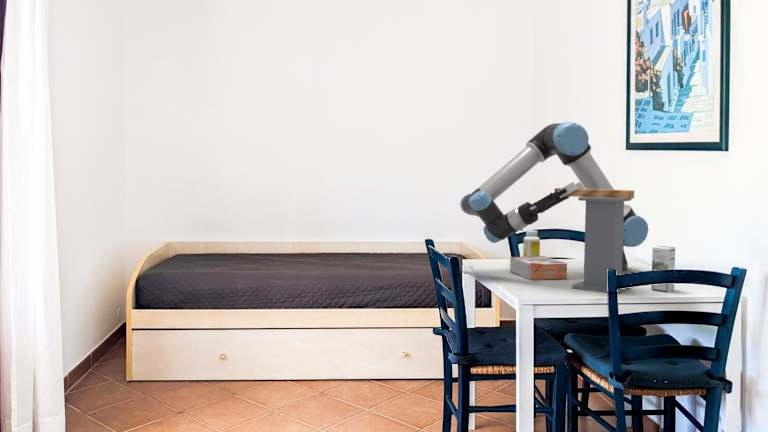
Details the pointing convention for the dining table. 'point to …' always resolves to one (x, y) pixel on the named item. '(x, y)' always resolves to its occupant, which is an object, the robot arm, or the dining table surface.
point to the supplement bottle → (531, 244)
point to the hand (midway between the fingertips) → (578, 185)
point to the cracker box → (538, 267)
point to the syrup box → (663, 264)
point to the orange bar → (601, 193)
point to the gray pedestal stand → (602, 241)
